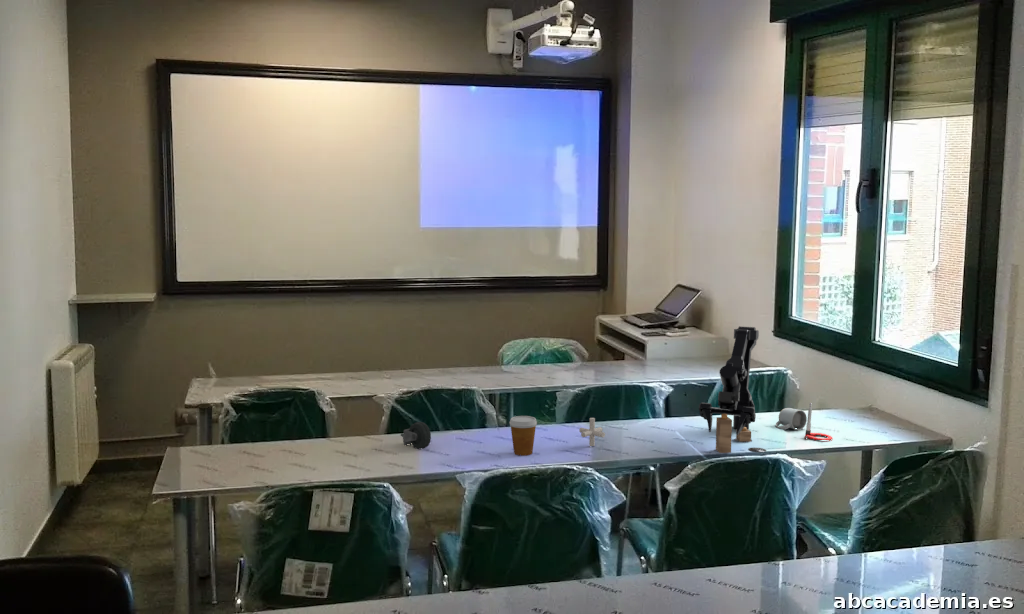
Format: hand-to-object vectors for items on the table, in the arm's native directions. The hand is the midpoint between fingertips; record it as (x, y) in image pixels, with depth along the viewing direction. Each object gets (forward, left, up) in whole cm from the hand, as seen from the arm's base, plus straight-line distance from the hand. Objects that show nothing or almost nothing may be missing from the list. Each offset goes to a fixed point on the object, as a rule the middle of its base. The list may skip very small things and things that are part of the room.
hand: (723, 433), depth 300 cm
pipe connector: (-14, -42, -7) cm, 45 cm away
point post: (-1, +1, -7) cm, 7 cm away
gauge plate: (-7, +13, -7) cm, 16 cm away
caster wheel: (-21, -104, -7) cm, 107 cm away
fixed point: (-14, +13, -6) cm, 20 cm away
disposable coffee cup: (-8, -67, -7) cm, 68 cm away
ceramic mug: (-31, +37, -7) cm, 48 cm away
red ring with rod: (-16, +42, -7) cm, 45 cm away
